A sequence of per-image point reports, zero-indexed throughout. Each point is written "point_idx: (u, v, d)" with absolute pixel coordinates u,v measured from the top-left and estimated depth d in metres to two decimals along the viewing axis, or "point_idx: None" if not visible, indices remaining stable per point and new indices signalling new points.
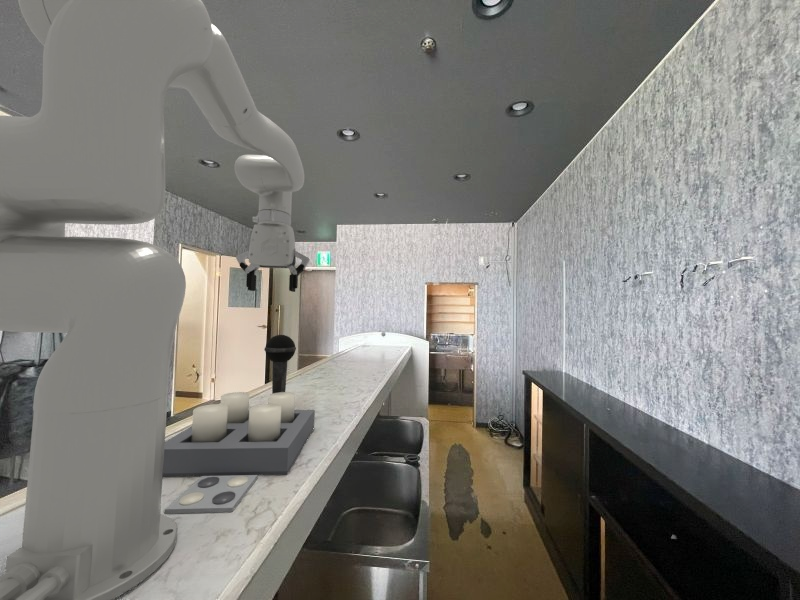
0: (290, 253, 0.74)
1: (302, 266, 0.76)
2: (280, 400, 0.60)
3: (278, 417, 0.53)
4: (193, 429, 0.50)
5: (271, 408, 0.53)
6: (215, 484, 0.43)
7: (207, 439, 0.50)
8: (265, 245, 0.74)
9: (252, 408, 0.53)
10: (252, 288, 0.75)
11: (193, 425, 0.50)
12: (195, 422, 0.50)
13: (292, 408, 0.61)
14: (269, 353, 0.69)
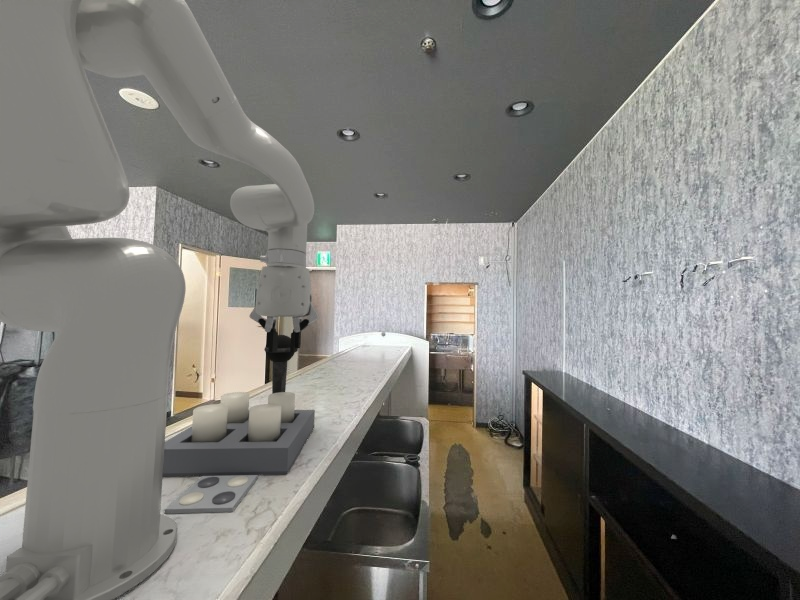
0: (306, 301, 0.61)
1: (306, 322, 0.62)
2: (280, 400, 0.60)
3: (278, 417, 0.53)
4: (193, 429, 0.50)
5: (271, 408, 0.53)
6: (215, 484, 0.43)
7: (207, 439, 0.50)
8: (276, 291, 0.60)
9: (252, 408, 0.53)
10: (273, 349, 0.62)
11: (193, 425, 0.50)
12: (195, 422, 0.50)
13: (292, 408, 0.61)
14: (269, 353, 0.69)
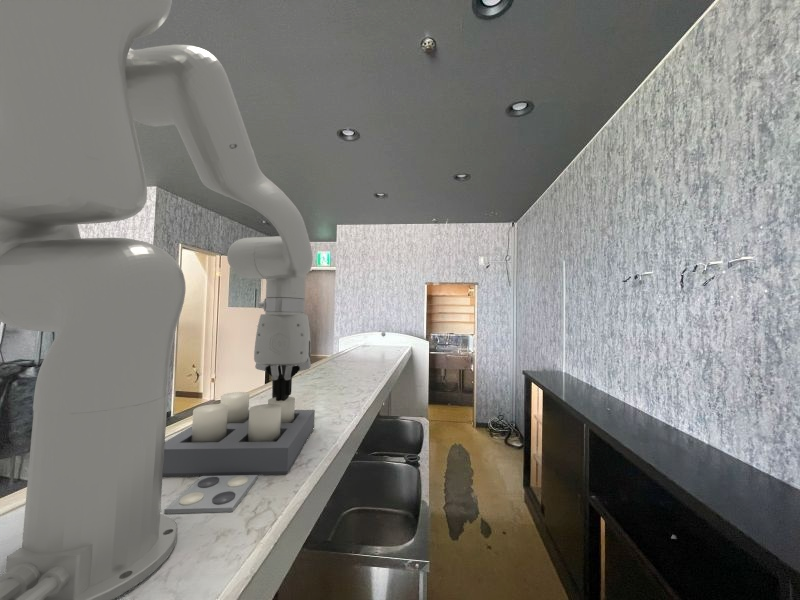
0: (305, 349, 0.61)
1: (297, 369, 0.62)
2: (280, 405, 0.60)
3: (278, 417, 0.53)
4: (193, 429, 0.50)
5: (271, 408, 0.53)
6: (215, 484, 0.43)
7: (207, 439, 0.50)
8: (274, 340, 0.60)
9: (252, 408, 0.53)
10: None
11: (193, 425, 0.50)
12: (195, 422, 0.50)
13: (292, 413, 0.61)
14: None
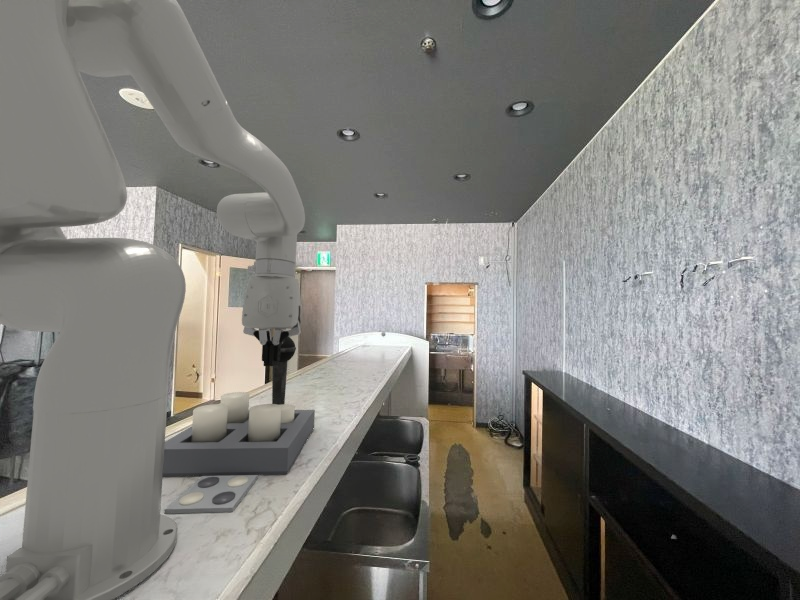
0: (294, 313, 0.59)
1: (286, 334, 0.60)
2: None
3: (278, 417, 0.53)
4: (193, 429, 0.50)
5: (271, 408, 0.53)
6: (215, 484, 0.43)
7: (207, 439, 0.50)
8: (263, 303, 0.58)
9: (252, 408, 0.53)
10: None
11: (193, 425, 0.50)
12: (195, 422, 0.50)
13: (292, 421, 0.61)
14: None
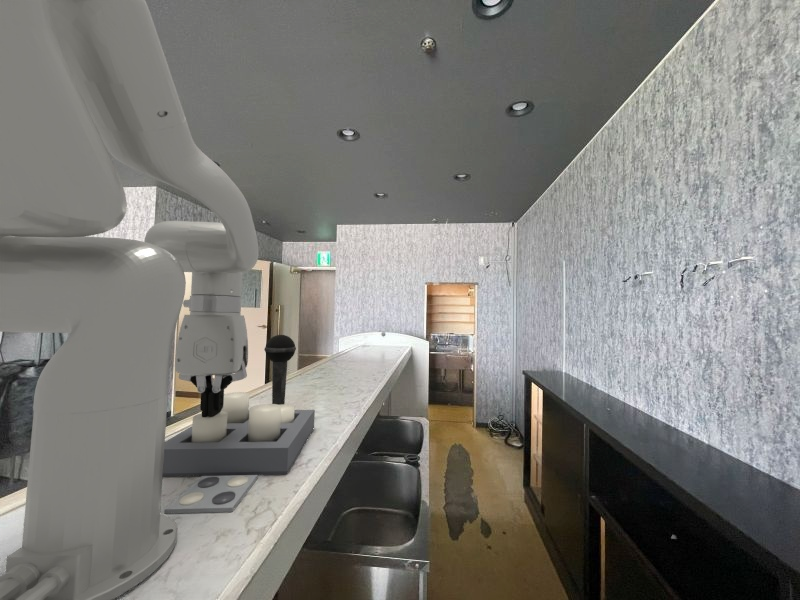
0: (236, 356, 0.51)
1: (228, 379, 0.52)
2: None
3: (278, 417, 0.53)
4: (193, 437, 0.50)
5: (271, 408, 0.53)
6: (215, 484, 0.43)
7: None
8: (199, 345, 0.50)
9: (252, 408, 0.53)
10: None
11: (193, 433, 0.50)
12: (195, 430, 0.50)
13: (292, 421, 0.61)
14: (269, 353, 0.69)
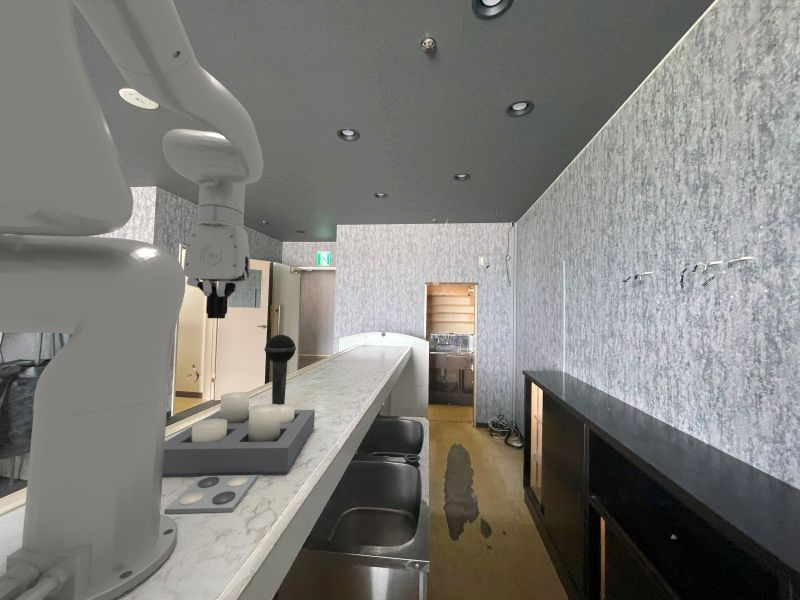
0: (239, 262, 0.56)
1: (231, 285, 0.57)
2: None
3: (278, 417, 0.53)
4: None
5: (271, 408, 0.53)
6: (215, 484, 0.43)
7: None
8: (205, 252, 0.56)
9: (252, 408, 0.53)
10: None
11: (192, 441, 0.50)
12: (194, 438, 0.50)
13: (292, 421, 0.61)
14: (269, 353, 0.69)
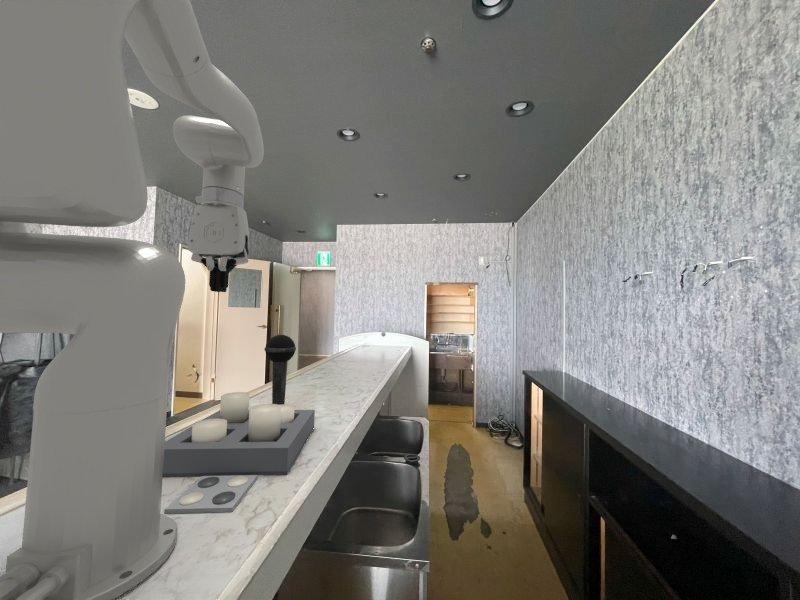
0: (239, 239, 0.61)
1: (232, 261, 0.63)
2: None
3: (278, 417, 0.53)
4: None
5: (271, 408, 0.53)
6: (215, 484, 0.43)
7: None
8: (209, 229, 0.61)
9: (252, 408, 0.53)
10: None
11: (192, 441, 0.50)
12: (194, 438, 0.50)
13: (292, 421, 0.61)
14: (269, 353, 0.69)
